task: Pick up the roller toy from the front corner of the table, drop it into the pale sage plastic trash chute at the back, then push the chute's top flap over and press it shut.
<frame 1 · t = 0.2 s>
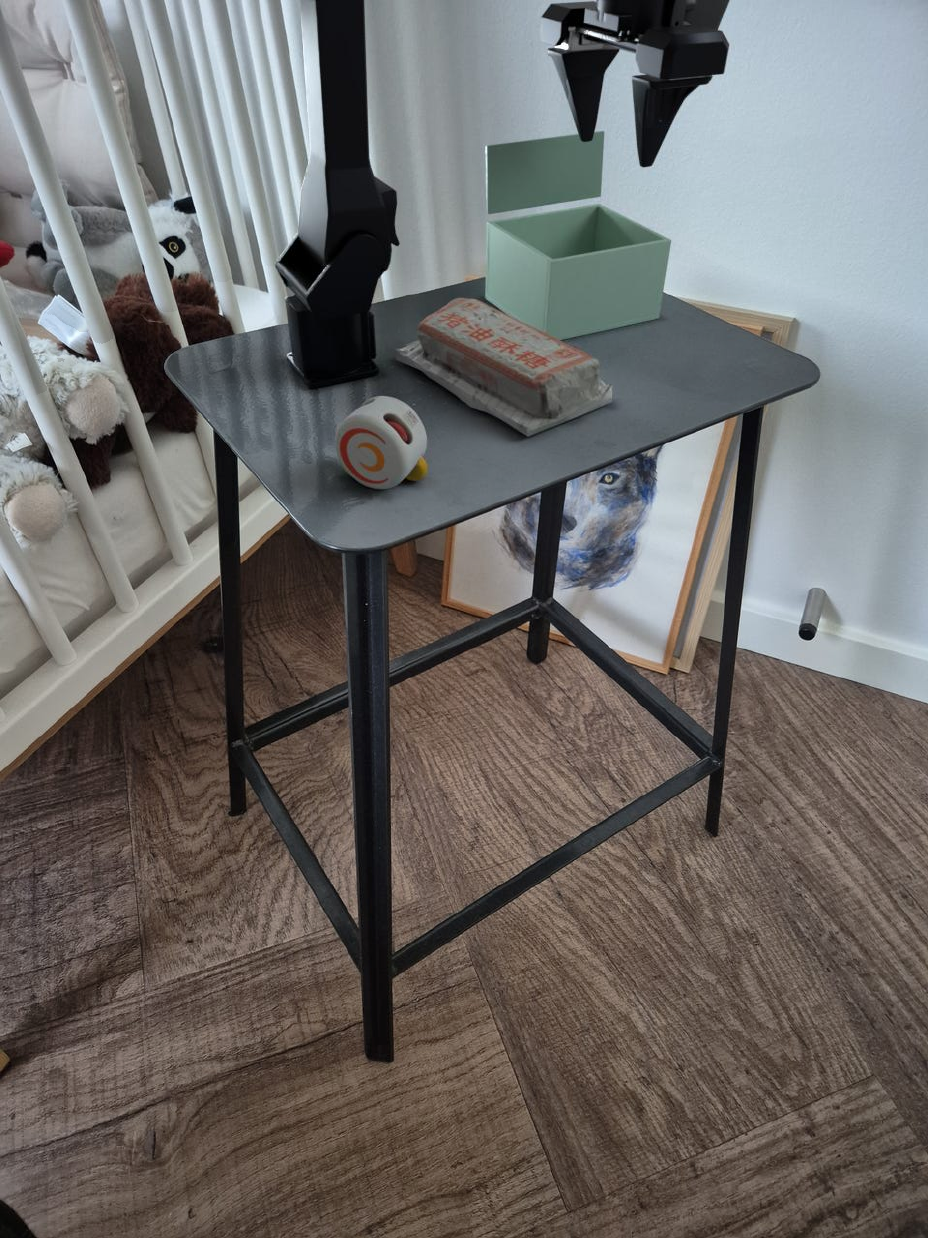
hand: (615, 153, 78), 14 cm above the table, tool pointing down, fingers open, 9 cm apart
chute flap: (545, 172, 85), point 11 cm above the table, hinge at 95.0°
packaged product: (500, 384, 76), on the table
roller toy: (383, 479, 65), on the table
trash chute: (570, 308, 88), on the table
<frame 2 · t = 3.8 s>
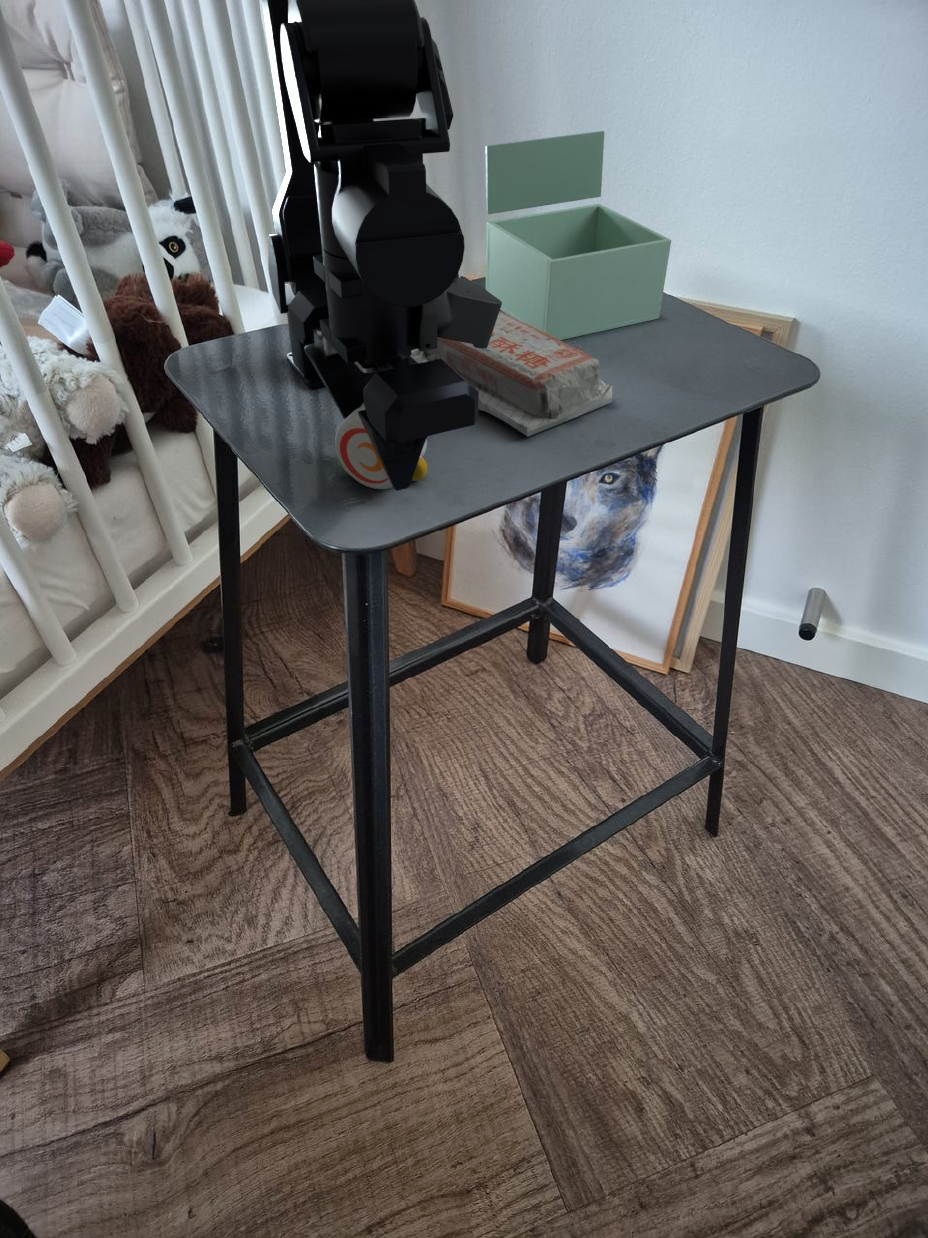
hand: (383, 465, 64), 1 cm above the table, tool pointing down, fingers closed on roller toy, 6 cm apart
roller toy: (383, 479, 65), on the table, touching gripper
everything else where it was.
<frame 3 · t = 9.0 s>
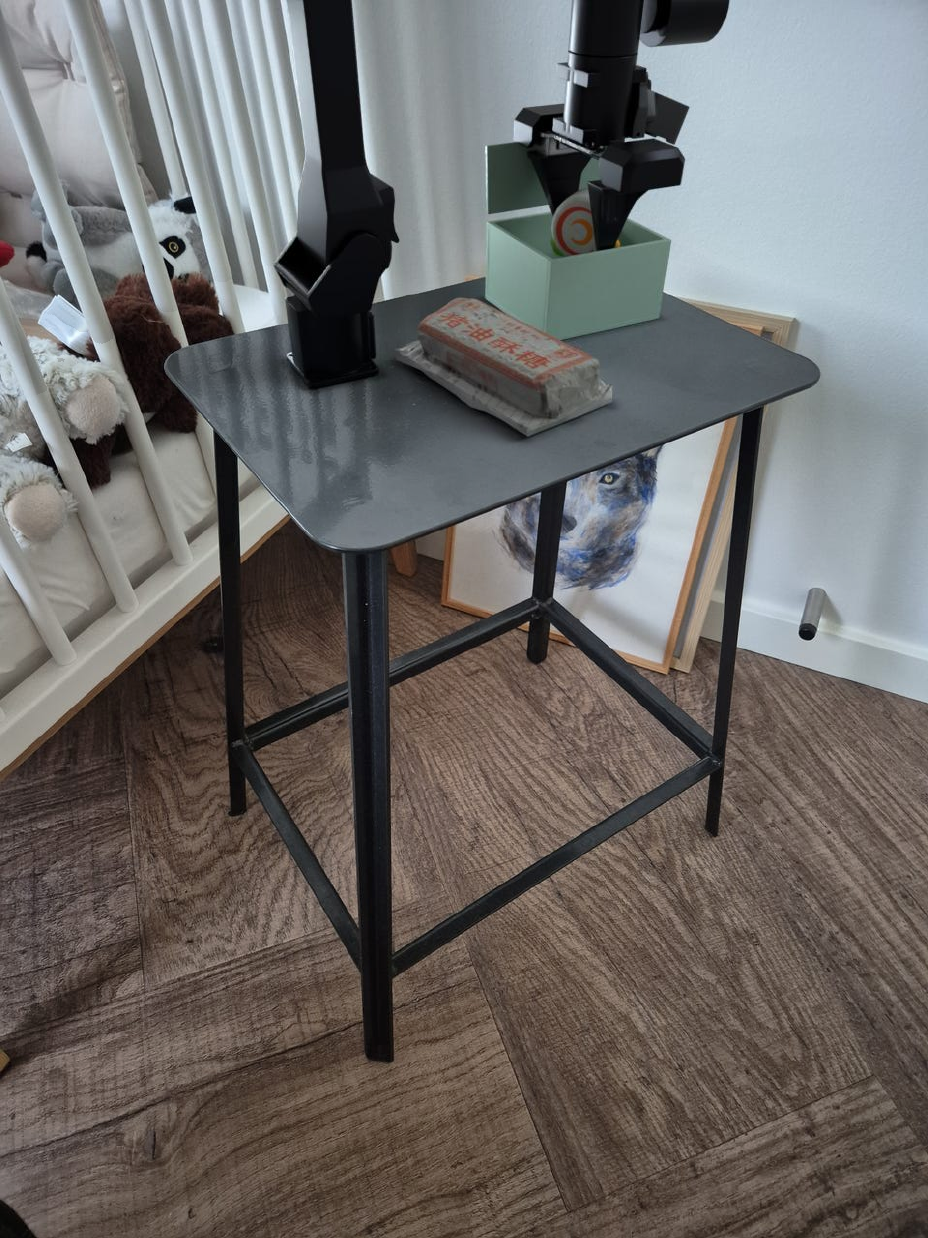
hand: (583, 246, 83), 7 cm above the table, tool pointing down, fingers closed on roller toy, 6 cm apart
roller toy: (583, 258, 84), point 5 cm above the table, touching gripper
everything else where it was.
when the fingers open (9 cm above the table, at t = 25.0 s): roller toy drops 8 cm, resting on trash chute.
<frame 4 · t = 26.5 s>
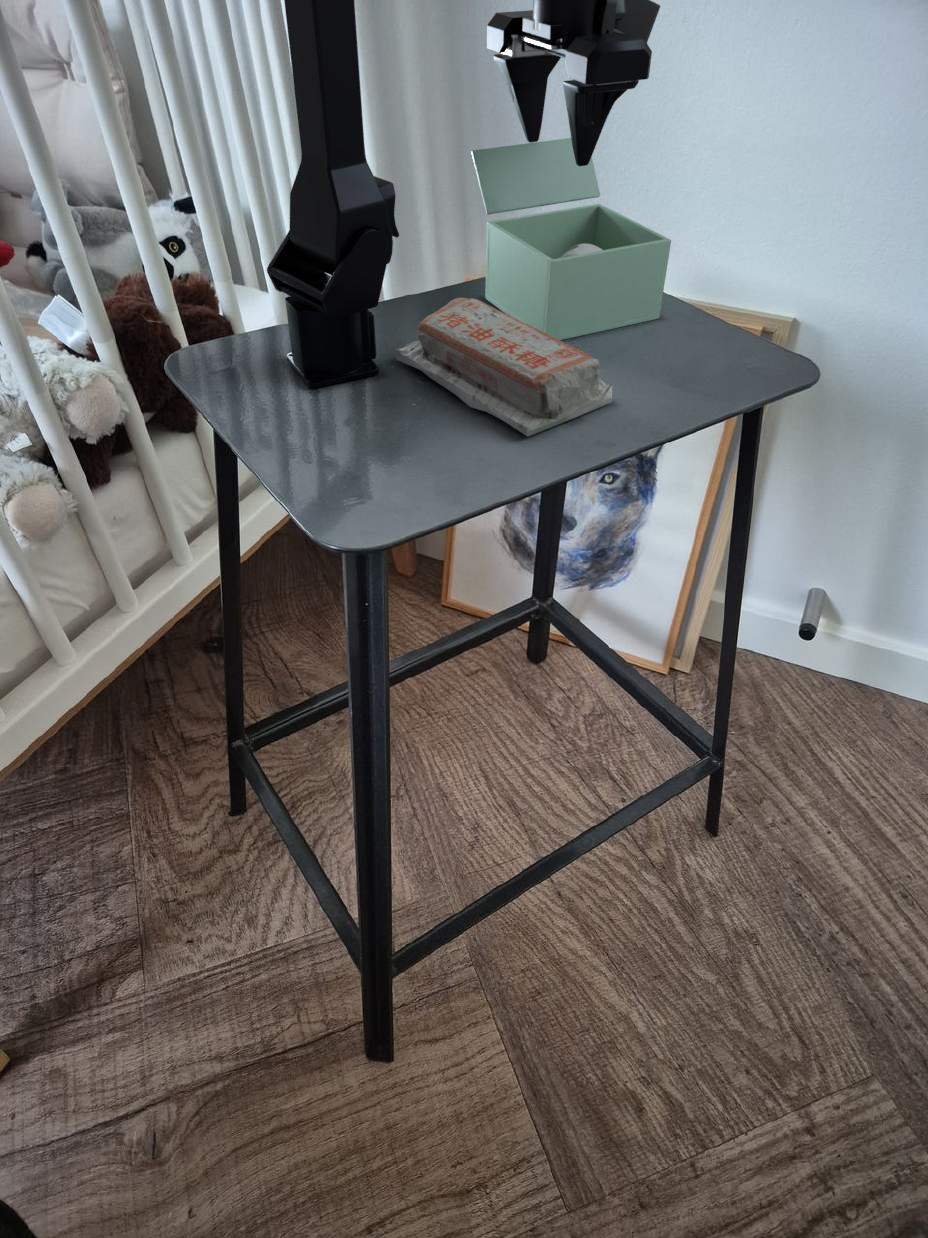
hand: (556, 152, 83), 13 cm above the table, tool pointing down, fingers open, 9 cm apart
chute flap: (537, 174, 87), point 11 cm above the table, hinge at 125.7°
roller toy: (578, 310, 87), resting on trash chute
everything else where it was.
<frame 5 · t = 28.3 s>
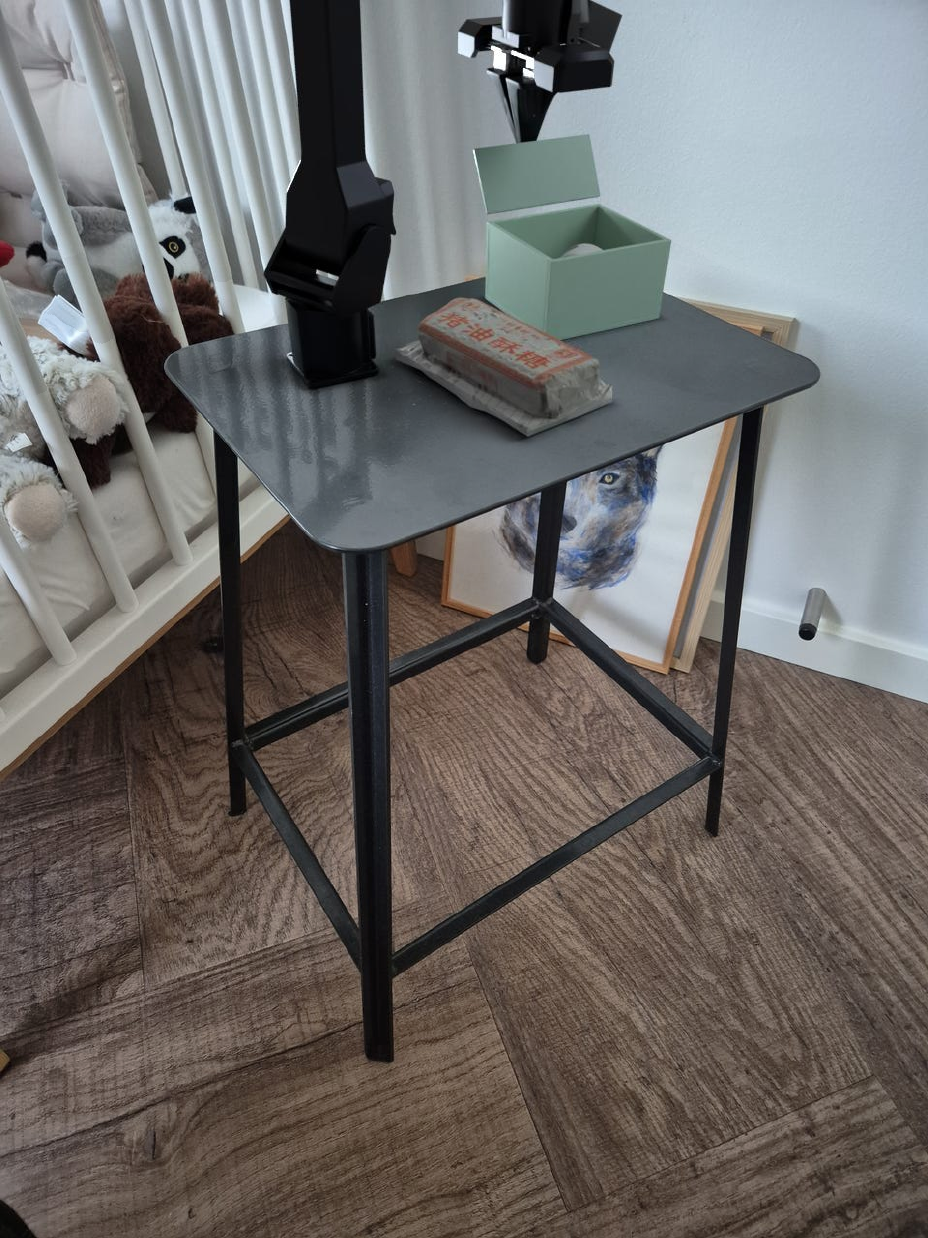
hand: (525, 154, 87), 12 cm above the table, tool pointing down, fingers closed
chute flap: (538, 173, 86), point 11 cm above the table, hinge at 121.2°, touching gripper
everything else where it was.
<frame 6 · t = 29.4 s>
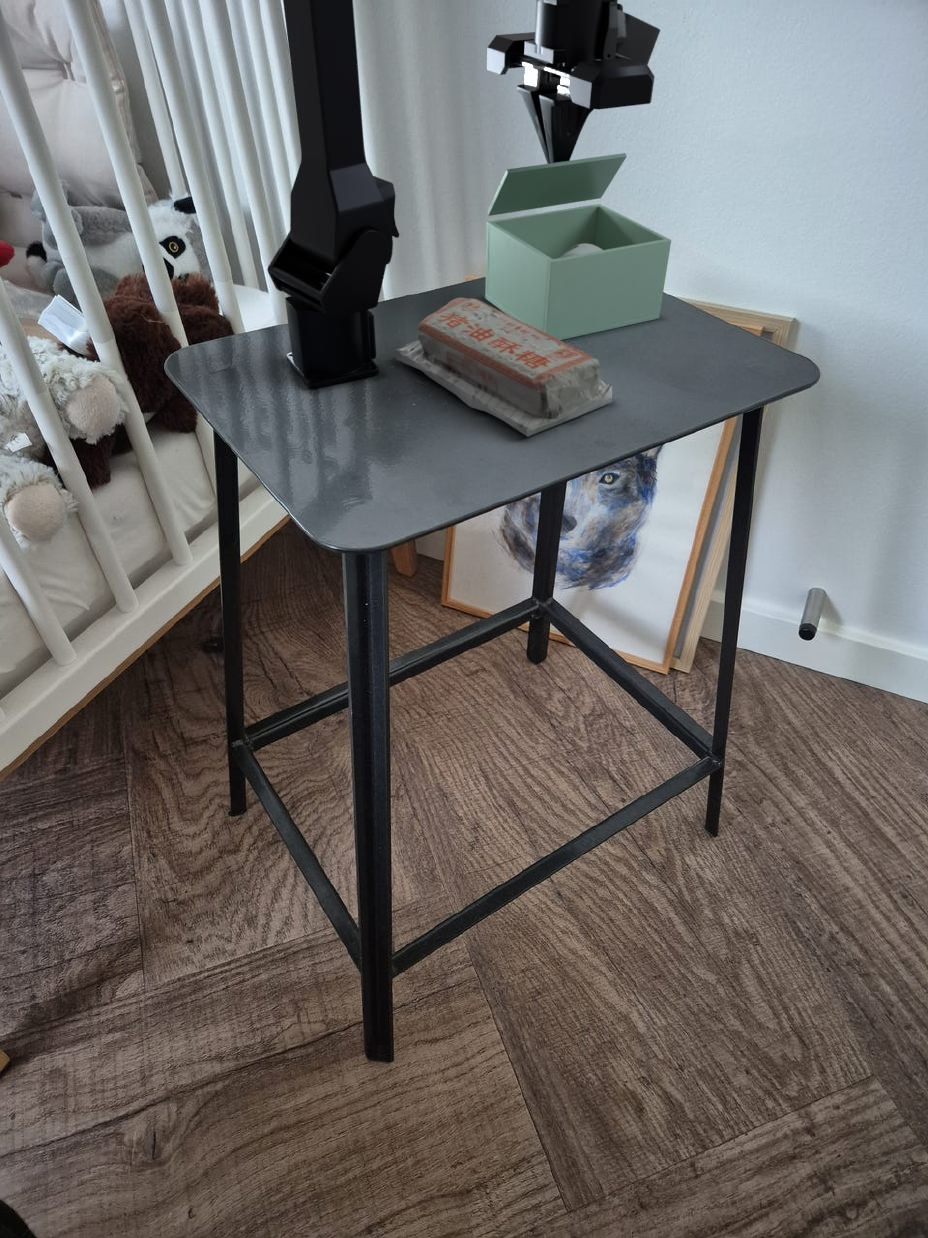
hand: (557, 173, 84), 11 cm above the table, tool pointing down, fingers closed
chute flap: (556, 184, 84), point 10 cm above the table, hinge at 52.8°, touching gripper
everything else where it was.
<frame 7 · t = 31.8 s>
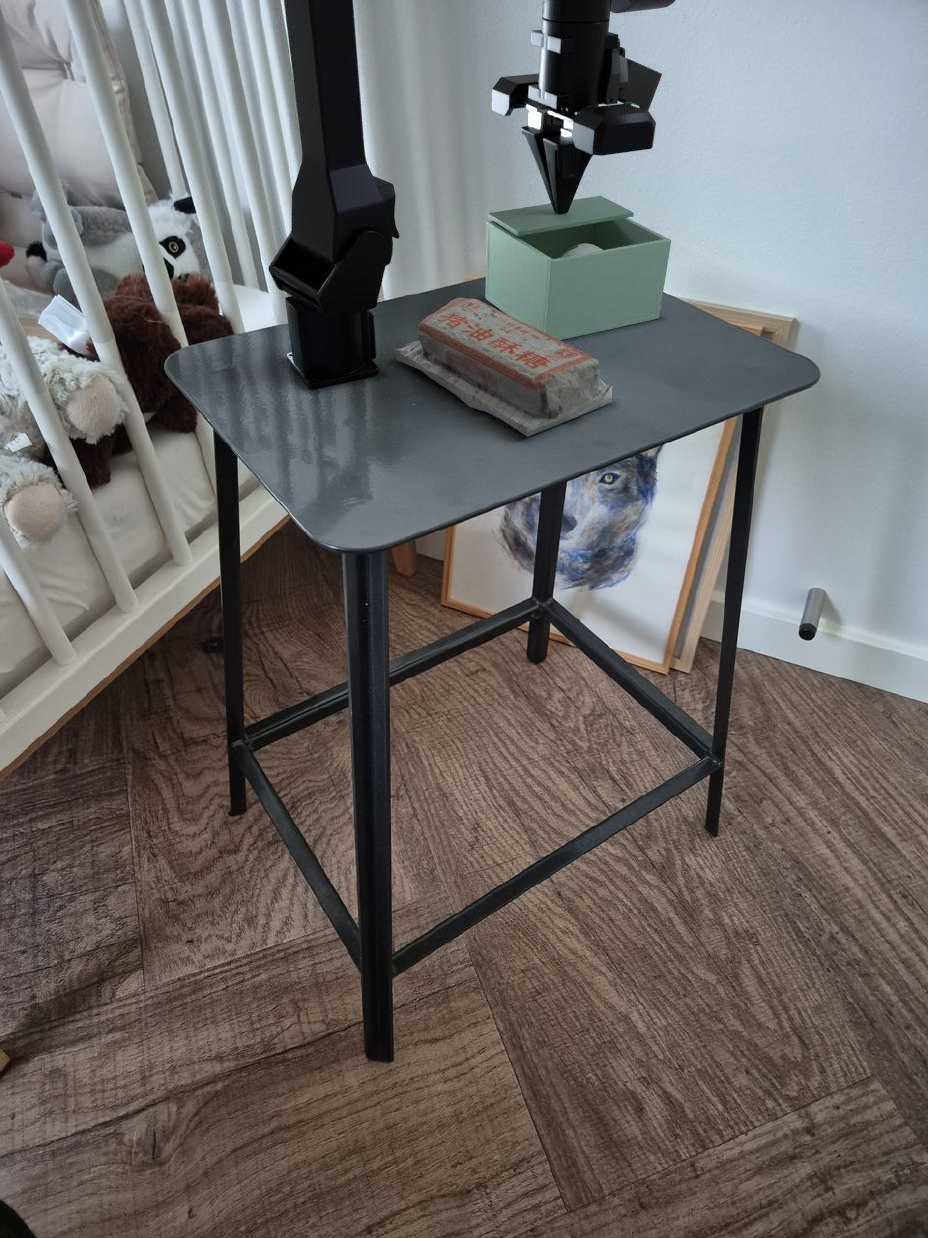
hand: (561, 212, 85), 8 cm above the table, tool pointing down, fingers closed, pressing on chute flap
chute flap: (561, 214, 85), point 8 cm above the table, hinge at -0.4°, touching gripper
everything else where it was.
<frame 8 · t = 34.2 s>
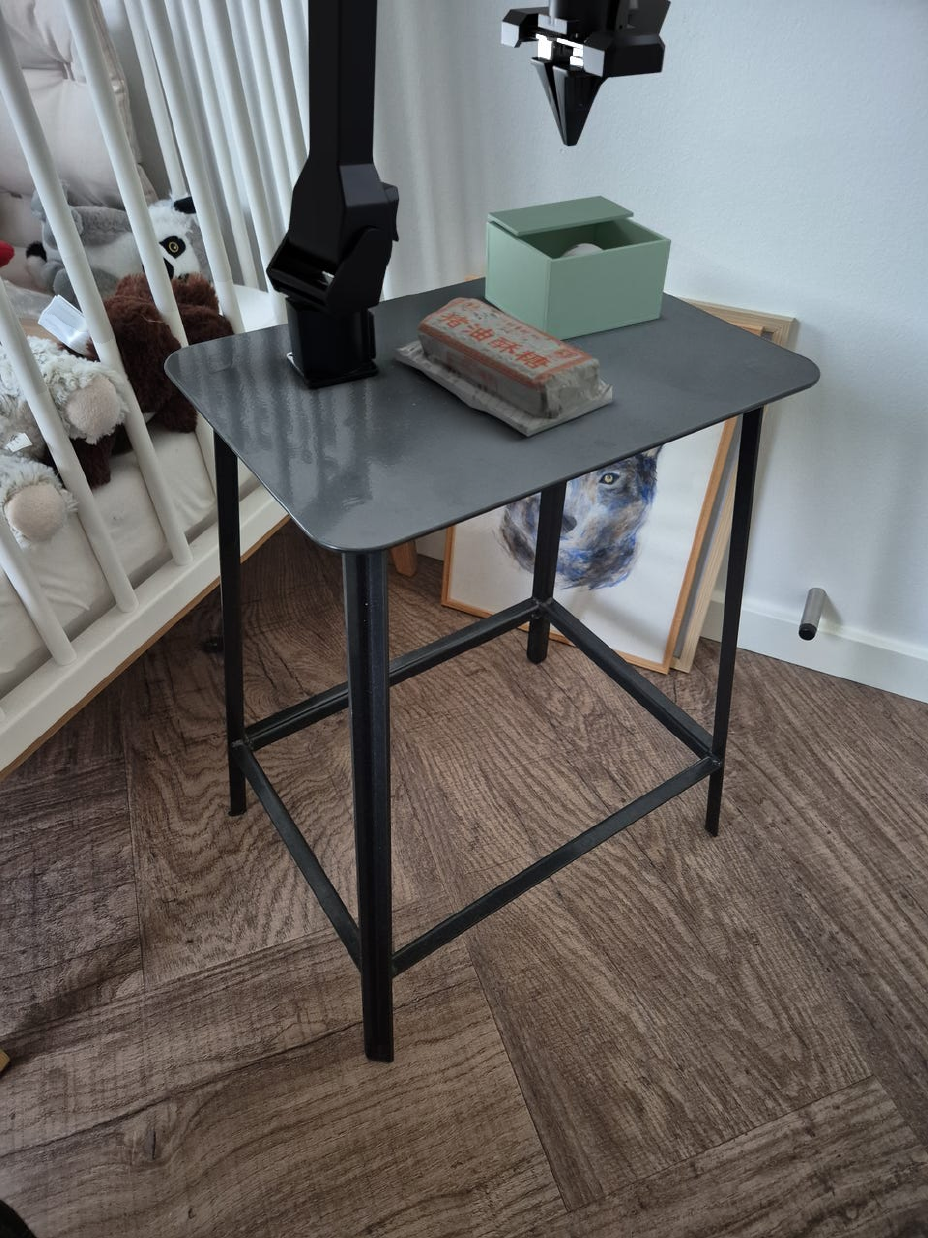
hand: (570, 145, 86), 13 cm above the table, tool pointing down, fingers closed
chute flap: (561, 214, 85), point 8 cm above the table, hinge at -0.5°
everything else where it was.
at the end: roller toy inside the target area in the trash chute (1.5 cm from its centre), point 0.3 cm above the trash chute's base; chute flap at +0° (first picture: +95°); the gripper is holding nothing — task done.
